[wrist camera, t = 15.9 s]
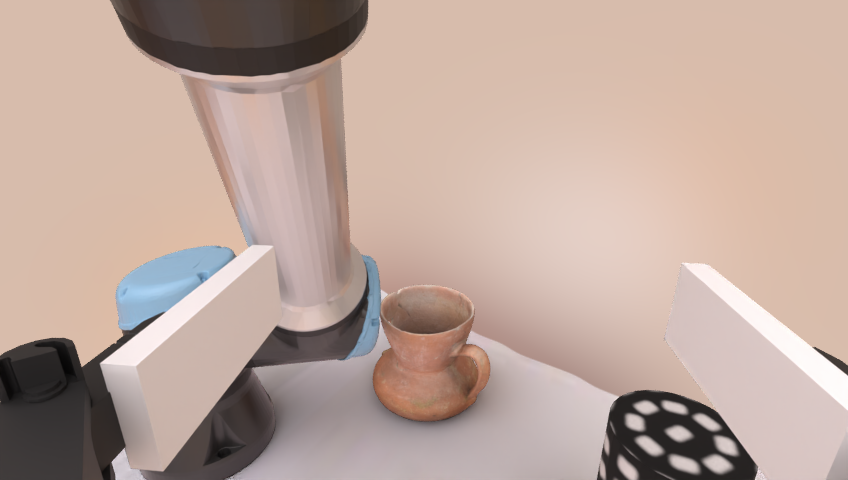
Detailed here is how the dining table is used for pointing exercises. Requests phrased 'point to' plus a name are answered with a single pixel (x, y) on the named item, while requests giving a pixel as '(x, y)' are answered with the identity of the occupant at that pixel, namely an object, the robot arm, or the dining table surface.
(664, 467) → the white-spotted black cylinder
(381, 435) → the dining table surface
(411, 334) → the ceramic jug
